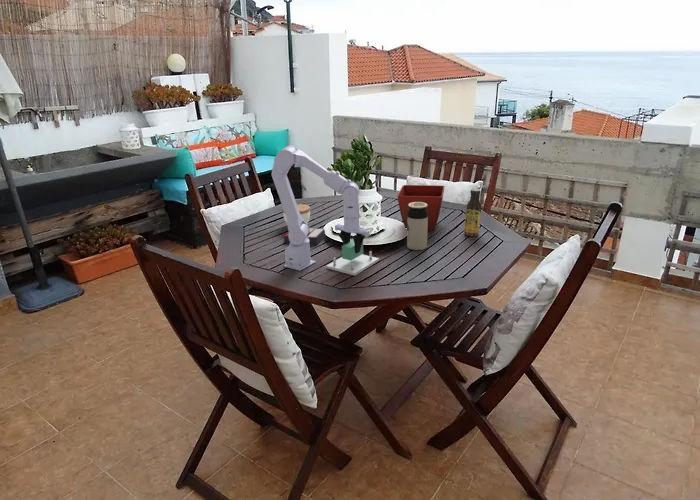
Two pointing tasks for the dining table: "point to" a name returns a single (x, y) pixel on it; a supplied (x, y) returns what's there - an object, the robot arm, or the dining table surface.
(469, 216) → the sauce bottle
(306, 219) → the lidded bowl
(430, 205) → the plant pot
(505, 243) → the dining table surface
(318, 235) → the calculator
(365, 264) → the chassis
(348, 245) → the green block
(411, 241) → the travel mug
